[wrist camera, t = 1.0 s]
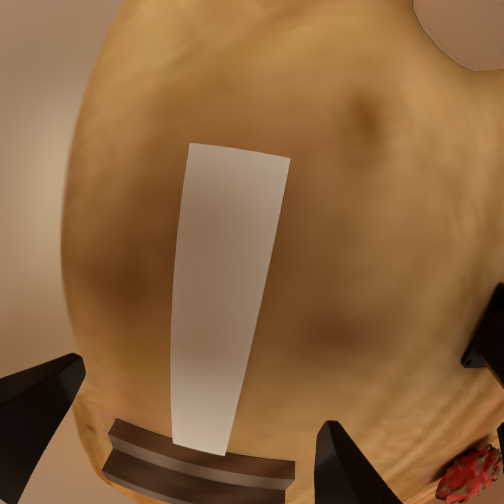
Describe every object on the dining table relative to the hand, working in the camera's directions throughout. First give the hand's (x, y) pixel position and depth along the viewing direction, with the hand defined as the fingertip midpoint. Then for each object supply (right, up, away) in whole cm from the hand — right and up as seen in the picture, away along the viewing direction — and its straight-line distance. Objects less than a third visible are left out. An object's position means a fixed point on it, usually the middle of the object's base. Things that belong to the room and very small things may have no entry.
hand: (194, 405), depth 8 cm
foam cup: (+14, +19, 0) cm, 23 cm away
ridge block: (-3, -15, +11) cm, 19 cm away
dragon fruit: (+30, -23, +11) cm, 39 cm away
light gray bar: (+1, +2, +6) cm, 7 cm away
